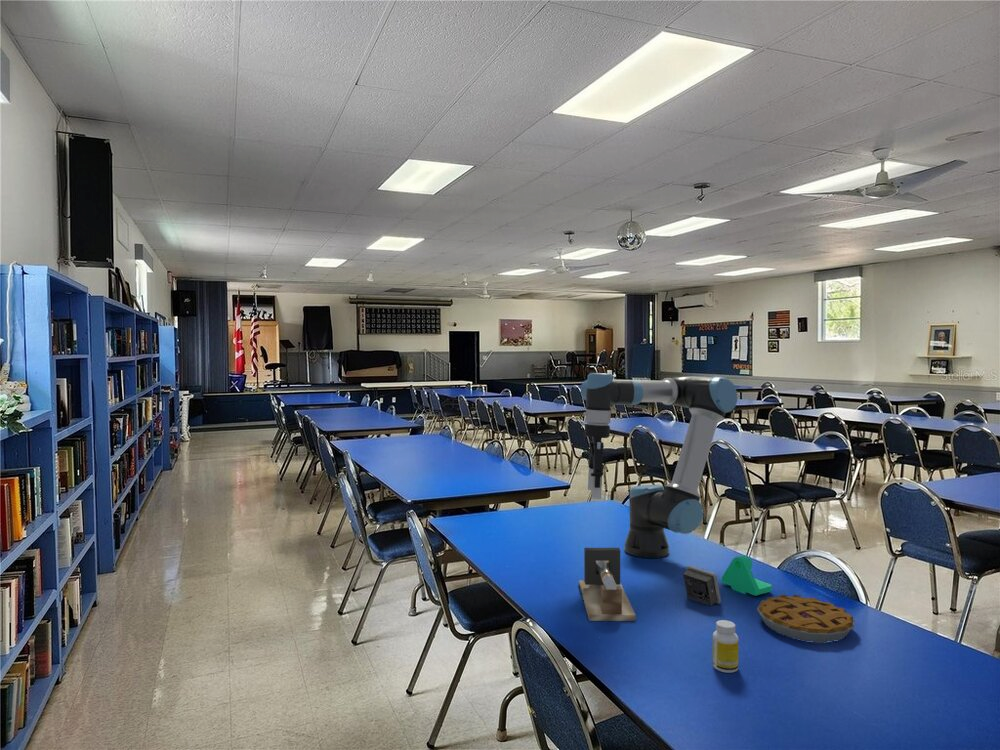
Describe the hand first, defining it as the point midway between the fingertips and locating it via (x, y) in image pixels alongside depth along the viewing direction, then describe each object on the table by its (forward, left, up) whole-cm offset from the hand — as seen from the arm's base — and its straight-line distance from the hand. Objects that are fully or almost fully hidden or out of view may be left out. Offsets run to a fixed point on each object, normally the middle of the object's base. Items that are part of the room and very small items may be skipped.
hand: (594, 494), depth 190 cm
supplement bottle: (-22, +52, -27) cm, 63 cm away
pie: (-49, +31, -27) cm, 64 cm away
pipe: (-1, +15, -20) cm, 26 cm away
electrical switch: (-28, +15, -27) cm, 42 cm away
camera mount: (-44, +6, -27) cm, 52 cm away
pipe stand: (-1, +15, -27) cm, 31 cm away
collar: (-1, +9, -24) cm, 26 cm away
